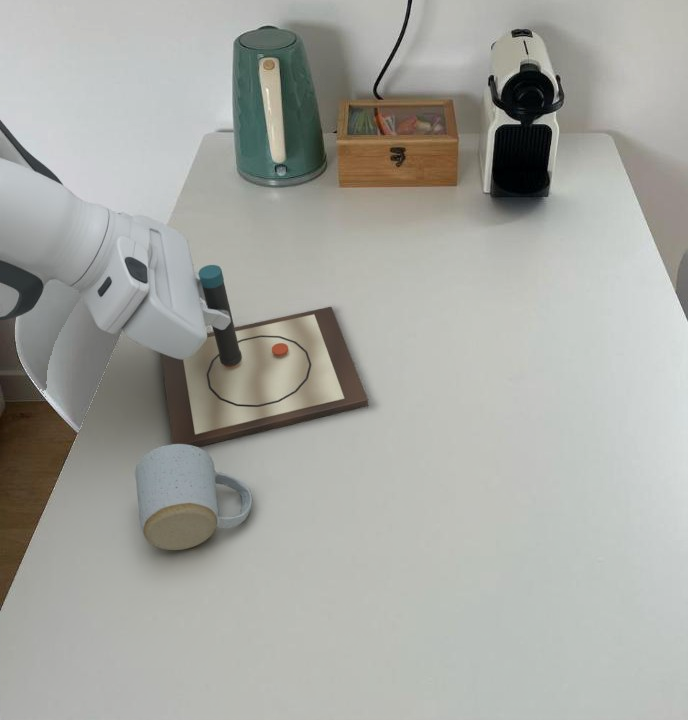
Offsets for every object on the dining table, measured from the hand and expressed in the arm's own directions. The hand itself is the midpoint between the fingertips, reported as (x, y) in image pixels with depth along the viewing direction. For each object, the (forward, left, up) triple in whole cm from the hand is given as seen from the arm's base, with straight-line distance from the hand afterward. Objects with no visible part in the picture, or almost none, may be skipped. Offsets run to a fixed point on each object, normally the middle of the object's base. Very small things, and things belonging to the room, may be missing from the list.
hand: (224, 311), depth 92 cm
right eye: (+5, 0, -7) cm, 9 cm away
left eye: (-1, 0, -7) cm, 7 cm away
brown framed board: (+2, -2, -9) cm, 10 cm away
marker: (-1, 0, -7) cm, 7 cm away
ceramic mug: (-7, -21, -9) cm, 24 cm away
